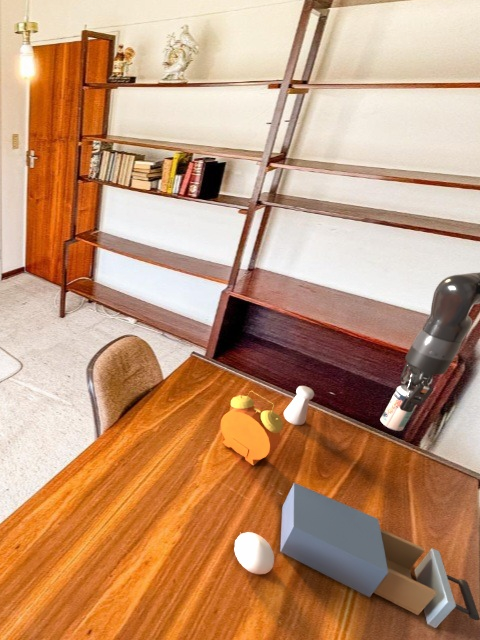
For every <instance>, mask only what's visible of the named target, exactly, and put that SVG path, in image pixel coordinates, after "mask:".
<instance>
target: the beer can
mask: <svg viewBox="0 0 480 640" xmlns="http://www.w3.org/2000/svg"><path fill="white" fill-rule="evenodd" d="M406 386H407V385H401V384H400V385H399V386H397V387H396V389H395V392H394V393H393V395H392V397H391V399H390V400H389V402H388V404H387V406H386V408H385V410H384V411H383V413H382V415H381V417H380V419H379V420H380V422H381V423H382V424H383V426H384V427H387V428H388V429H390V430H393V431H398V432H400V431H401V432H402V431H404V429H405V426H406V425H407V423H408V422H409V420H410V418H411V416H412V415H413V413H414V411H415V409H416V408H417V406H418V405H419V403H416V405H415V406H414V408H413V410H412V412H406V411H403V410H401V409H400V405H401V403H402V401H403V400H404V398H405V395H406V393H407V391H408V389H407V388H406ZM412 392H413V391H412ZM416 397H417V396H416Z"/></svg>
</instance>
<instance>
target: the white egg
mask: <svg viewBox="0 0 480 640" xmlns="http://www.w3.org/2000/svg"><path fill="white" fill-rule="evenodd" d="M233 549H234V554H235V557H236V558H237V561H238V563H239V564H240V565H241V566H242V567H243V568H244V569H245V570H246V571H248V572H250V573H252V574H254V575H266V574H267V573H269V572H270V571H271V570H272V569H273V568H274V565H275V555H274V551H273V548H272V546H271V545H270V543H269V542H268V541H267V540H266V539H265V538H264V537H262V535H259V534H257V533H254V532H252V531H251V532H243V533H240V534H239V535H238V536H237V537H236V538H235V540H234V548H233Z"/></svg>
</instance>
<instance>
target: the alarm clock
mask: <svg viewBox="0 0 480 640" xmlns="http://www.w3.org/2000/svg"><path fill="white" fill-rule="evenodd" d="M251 392H252V393H253V394H255V395H257V396H258V397H260V398H262V399H264V400H265V401H267V402H268V403H270V404H272V405H273V406H272V409H271V410H270V409H267V410H264V409H262V408H260V407H259V406H256V405H255V401H254V400H253V398H252V397H250V396H249V395H250V394H251ZM230 406H231V407H232V409H231V410H229V411H228V412H226V413H225V414H223V416H222V418H221V420H220V430H221V434H222V436H223V438H224V440H223V441H221V443H222V444H224V446H226V447H227V448H231V449H232V450H234V452H236V453H237V454H239V455H241V456H242V457H243V458H244V459H245V461H246V462H247V463H249V464H251V465H252V466H255V465H256V464H257V463H258V462H259V461H261V460H262V459H264V458H266V457H268V456H269V454H271V453H272V452H273V451H274V450H275V449H276V448H277V446H279V444H280V440H281V434H280V432H281V431H282V430H283V428H284V422H283V420H282V417H281V416H280V415H279V414H278V413H276V411H274V407H275V404H274V402H271V401H270V400H269V399H267V398H265V397H263V396H262V395H260V394H258V393H257V392H255V391H253V390H250V391H249V392H248V395H241V394H239V395H238V396H234V397H232V398H231V400H230Z"/></svg>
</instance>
